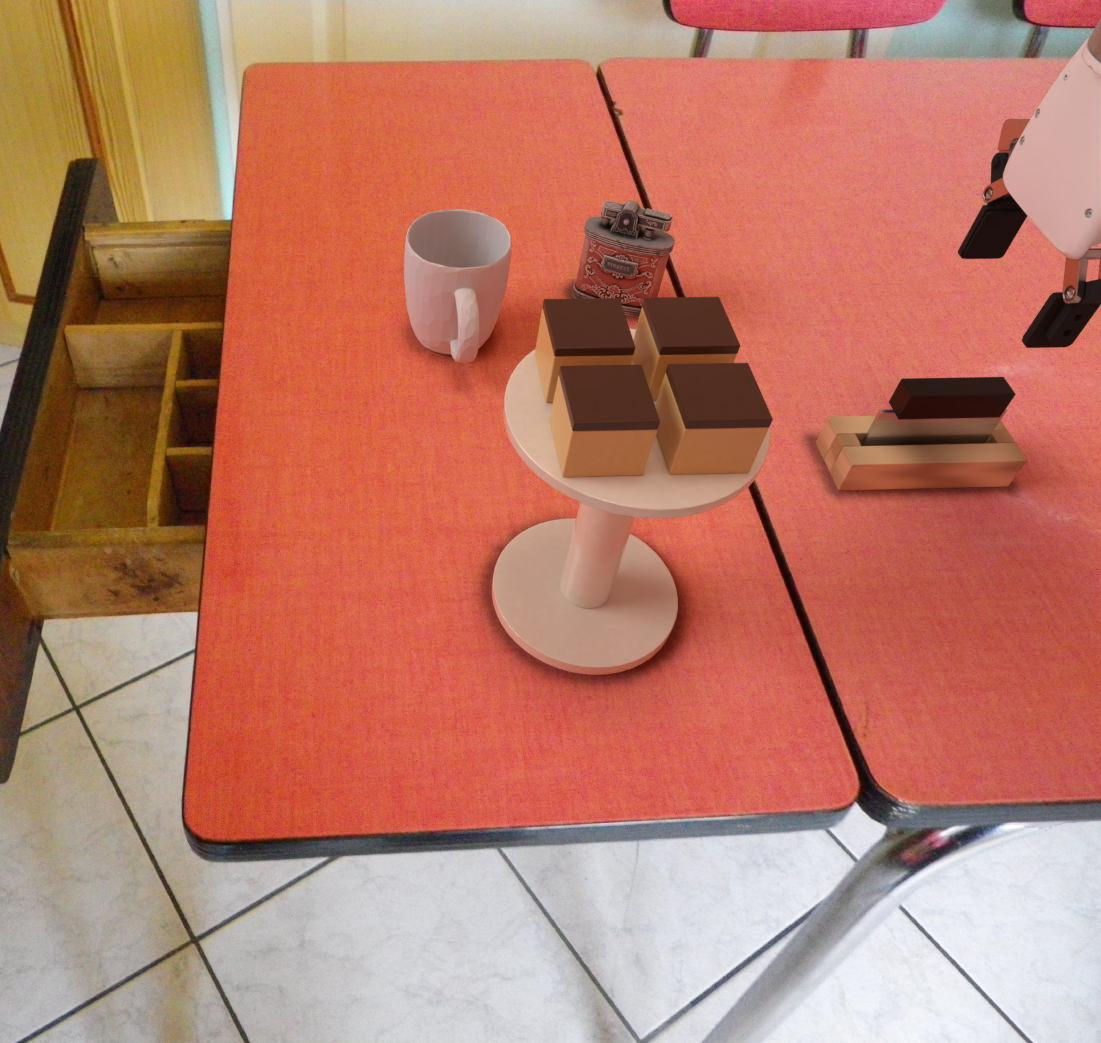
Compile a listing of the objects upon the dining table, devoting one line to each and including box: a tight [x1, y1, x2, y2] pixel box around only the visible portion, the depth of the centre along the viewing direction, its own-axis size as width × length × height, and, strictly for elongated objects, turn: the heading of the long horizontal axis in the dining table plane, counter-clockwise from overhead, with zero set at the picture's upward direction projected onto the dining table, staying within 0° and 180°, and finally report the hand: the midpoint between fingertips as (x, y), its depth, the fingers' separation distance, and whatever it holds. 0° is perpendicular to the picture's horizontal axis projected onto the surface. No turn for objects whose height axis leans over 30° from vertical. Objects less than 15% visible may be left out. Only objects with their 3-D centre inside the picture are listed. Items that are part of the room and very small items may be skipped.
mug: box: [403, 208, 513, 364], centre depth 82 cm, size 13×9×10 cm
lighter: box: [571, 200, 676, 318], centre depth 87 cm, size 8×3×10 cm, turn 67°
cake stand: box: [491, 328, 771, 676], centre depth 61 cm, size 15×15×18 cm
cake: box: [534, 296, 774, 477], centre depth 53 cm, size 10×10×4 cm
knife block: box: [815, 414, 1028, 491], centre depth 76 cm, size 14×5×3 cm, turn 93°
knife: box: [861, 376, 1016, 446], centre depth 74 cm, size 10×2×8 cm, turn 93°
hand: (1010, 298), depth 65 cm, fingers open, 9 cm apart
